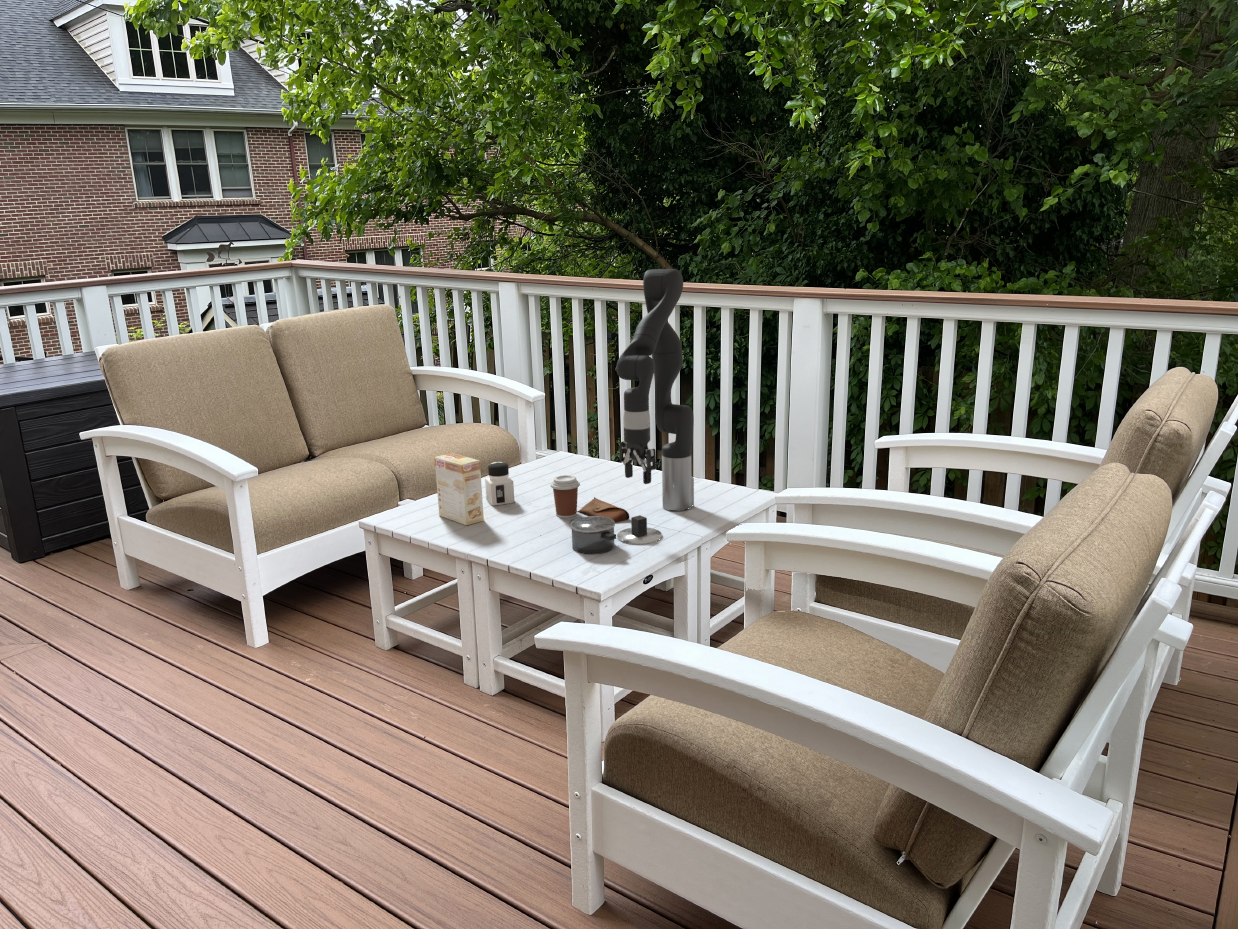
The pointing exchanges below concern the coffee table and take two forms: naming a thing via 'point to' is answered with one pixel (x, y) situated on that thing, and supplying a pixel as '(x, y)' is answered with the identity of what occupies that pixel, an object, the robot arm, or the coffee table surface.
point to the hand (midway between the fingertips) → (637, 480)
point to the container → (499, 484)
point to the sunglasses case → (604, 510)
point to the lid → (639, 532)
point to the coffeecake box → (459, 488)
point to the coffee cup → (565, 495)
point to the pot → (592, 534)
